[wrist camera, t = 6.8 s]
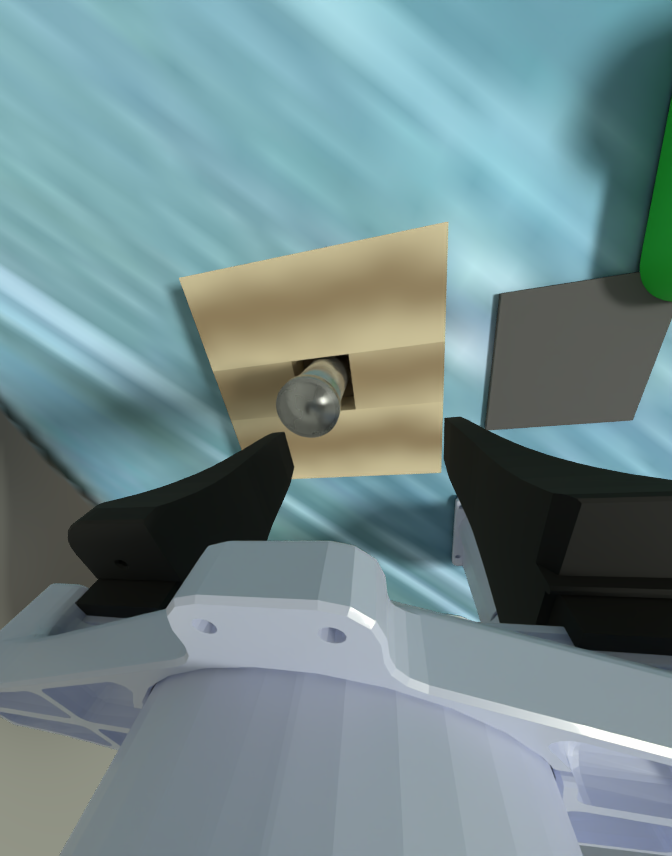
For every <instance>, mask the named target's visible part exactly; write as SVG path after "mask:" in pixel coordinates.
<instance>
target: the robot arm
mask: <svg viewBox="0 0 672 856" xmlns="http://www.w3.org/2000/svg"><path fill="white" fill-rule="evenodd" d="M444 461H445V465H446V469H447V472H448V476H449V479H450V481H451V483H452V485H453V488H454V490H455V492H456V494H457V497H458V498H457V499H456V501H455V515H454V531H453V547H452V563H453V564H454V565H456V566H463V568H464V571H465V574H466V577H467V580H468V584H469V587H470V590H471V593H472V596H473V599H474V602H475V606H476V609H477V612H478V615H479V618H480V621H481V622H475V621H471V620H467V619H463V618H459V617H455V616H451V615H447V614H443V613H439V612H435V611H431V610H427V609H423V608H419V607H415V606H411V605H407V604H403V603H399V602H395V601H391V600H390V599H389V596H388V593H387V586H386V578H385V574H384V573H383V571H382V569H381V567H380V565H379V563H378V562H377V560H376V559H375V558H374V557H372V556H371V555H369V554H367V553H366V552H364V551H363V550H361V549H359V548H358V547H356V546H354V545H351V544H345V543H340V542H335V541H267V539H268V536H269V533H270V530H271V527H272V525H273V522H274V520H275V518H276V516H277V513H278V511H279V509H280V507H281V504H282V502H283V500H284V497H285V495H286V493H287V491H288V488H289V486H290V483H291V479H292V475H293V471H294V464H293V460H292V457H291V453H290V449H289V446H288V442H287V439H286V435H285V432H275V433H271V434H268V435H266V436H265V437H263V438H261V439H259V440H258V441H256V442H254V443H253V444H251V445H249V446H248V447H246V448H244V449H243V450H241V451H239V452H238V453H236V454H234V455H232V456H231V457H229V458H227V459H225V460H224V461H222V462H220V463H218V464H216V465H214V466H212V467H210V468H208V469H206V470H204V471H201V472H199V473H197V474H195V475H192V476H190V477H187V478H184V479H182V480H179V481H177V482H174V483H172V484H169V485H166V486H163V487H160V488H157V489H153V490H150V491H147V492H143V493H140V494H136V495H132V496H128V497H124V498H120V499H116V500H112V501H108V502H104V503H101V504H99V505H97V506H96V507H94V508H93V509H92V510H90V511H89V512H88V513H86V514H85V515H84V516H83V517H81V518H80V519H79V520H77V521H76V522H75V523H73V524H72V525H71V527H70V528H69V530H68V541H69V543H70V546H71V548H72V549H73V551H74V552H75V553H76V555H77V556H78V557H79V558H80V559H81V560H82V561H83V563H84V564H85V565H86V566H87V567H88V568H89V569H90V571H91V572H92V573H93V574H94V575H95V576H96V578H97V579H98V580H97V581H96V582H95V583H94V584H93V585H92V586H91V587H90V588H87V587H85V586H83V585H78V584H51V585H50V586H49V587H48V588H47V589H46V590H44V591H43V592H42V593H41V594H40V595H39V596H38V597H37V598H36V599H34V600H33V601H32V602H31V603H30V604H29V605H28V606H27V607H26V608H25V609H23V610H22V611H21V612H20V613H19V614H18V615H17V616H16V617H14V619H12V620H11V621H10V622H9V623H8V624H7V625H6V626H5V627H3V628H2V629H1V630H0V717H1V718H3V719H5V720H7V721H8V722H10V723H12V724H14V725H17V726H23V727H27V728H32V729H37V730H42V731H47V732H51V733H55V734H59V735H63V736H67V737H71V738H75V739H79V740H82V741H86V742H90V743H94V744H97V745H101V746H104V747H108V748H111V749H116V750H118V752H117V754H116V755H115V757H114V759H113V761H112V762H111V764H110V766H109V768H108V770H107V771H106V773H105V775H104V777H103V778H102V780H101V782H100V784H99V786H98V787H97V789H96V791H95V793H94V795H93V796H92V798H91V800H90V802H89V804H88V805H87V807H86V809H85V810H84V812H83V814H82V816H81V818H80V820H79V821H78V823H77V825H76V827H75V828H74V830H73V832H72V834H71V835H70V837H69V839H68V841H67V843H66V844H65V846H64V848H63V850H62V851H61V853H60V855H59V856H672V480H668V479H661V478H654V477H648V476H641V475H634V474H628V473H622V472H617V471H612V470H607V469H602V468H597V467H592V466H588V465H583V464H579V463H575V462H572V461H568V460H564V459H560V458H557V457H553V456H550V455H547V454H544V453H541V452H538V451H535V450H532V449H529V448H526V447H524V446H521V445H519V444H516V443H514V442H511V441H509V440H507V439H505V438H502V437H500V436H498V435H496V434H494V433H492V432H490V431H488V430H486V429H484V428H482V427H480V426H478V425H476V424H474V423H473V422H471V421H469V420H467V419H465V418H462V417H451V418H445V423H444ZM460 505H462V506H460Z"/></svg>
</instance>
